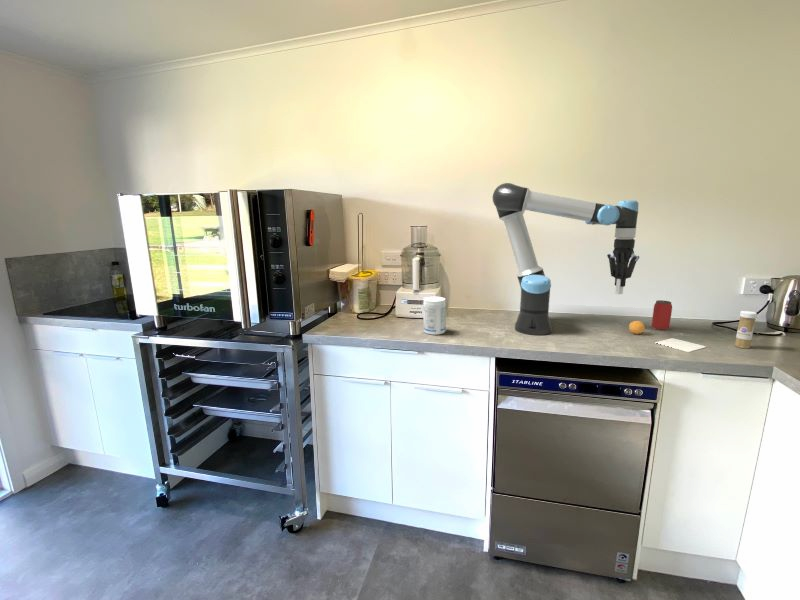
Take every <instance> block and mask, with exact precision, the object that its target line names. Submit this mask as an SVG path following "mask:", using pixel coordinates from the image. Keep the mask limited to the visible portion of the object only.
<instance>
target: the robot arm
mask: <svg viewBox="0 0 800 600" xmlns="http://www.w3.org/2000/svg"><path fill="white" fill-rule="evenodd" d="M492 202H493V205H494V206H495V209H496V213H497V214H498V218H499V220H501V221H503V223H504V226H505V230H506V232H507V236H508V239H509V243H510V245H511V249H512V251H513V256H514V258H515V262H516V264H517V265H516V266H517V268H518V273H517V274H516V276H517V277H516V278H517V280H518V283H519V286H520V301H519V302H520V303H519V304H520V306H519V313H518V315H517V319H516V321H515V323H514V330H515V331H516V332H518V333H521V334H525V335H530V336H531V335H533V336H541V335H543V336H544V335H550V334H551V333H552V330H553V329H552V328H553V327H552V324H551V320H550V314H549V310H550V296H551V287H552V282H551V279H550V277H548V276H546V275H545V271H544V268H543V267H542V266H539V264H538V261H537V257H536V254H535V251H534V247H533V244H532V240H531V237H530V232H529V231H528V228H527V227H528V226H527V224H526V221H525V220H526V219H525V217H524V214H525V211H529V212H535V213H540V214H546V215H550V216H556V217H561V218H562V217H563V218H566V219H571V220H578V221H582V222H583V221H584V222H585V225H592V226H595V225H604V226H610V225H615V229H614V238H615V239H614V240H613V241H614V242H613V248H614V249H613V251H612V252H611V253H608V254H607V255H606V256H607V259H608V263H609V268H610V270H609V271H610V276H611V277H613V278H614V286H615V291H614V293H615V295H622V294H623V293H624V292H623V291H624V287H626V280H627V279H630V278H632V275H633V274H634V273H633V272H634V270H635V267H636V265H637V264H636V263H637V262H638V261H639V259H640V256H639V255H636V254H635V251H634V248H635V245H636V244H635V243H636V240H635V238H636V232H637V222H638V215H639V202H638V201H637V200H620V201H618V203H617V205H613V204H604V203H599V202H598V203H597V202H593V201H588V200H581V199H576V198H569V197H565V196H559V195H554V194H548V193H543V192H537V191H531V189H530V188H529V187H525V186H521V185H516V184H514V183H510V182H503V183H501V184H500V185H498V186H497V187H496V188H495V189H494V191H493V194H492Z"/></svg>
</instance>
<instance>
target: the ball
mask: <svg viewBox="0 0 800 600" xmlns="http://www.w3.org/2000/svg"><path fill="white" fill-rule="evenodd" d="M628 329H629V331H630V332H631V333H632V334H634V335H639V334H642V333H643V332H644V331H645V324H644V323H643V322H642V321H640V320H633V321H631V322H630V323H629V325H628Z"/></svg>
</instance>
